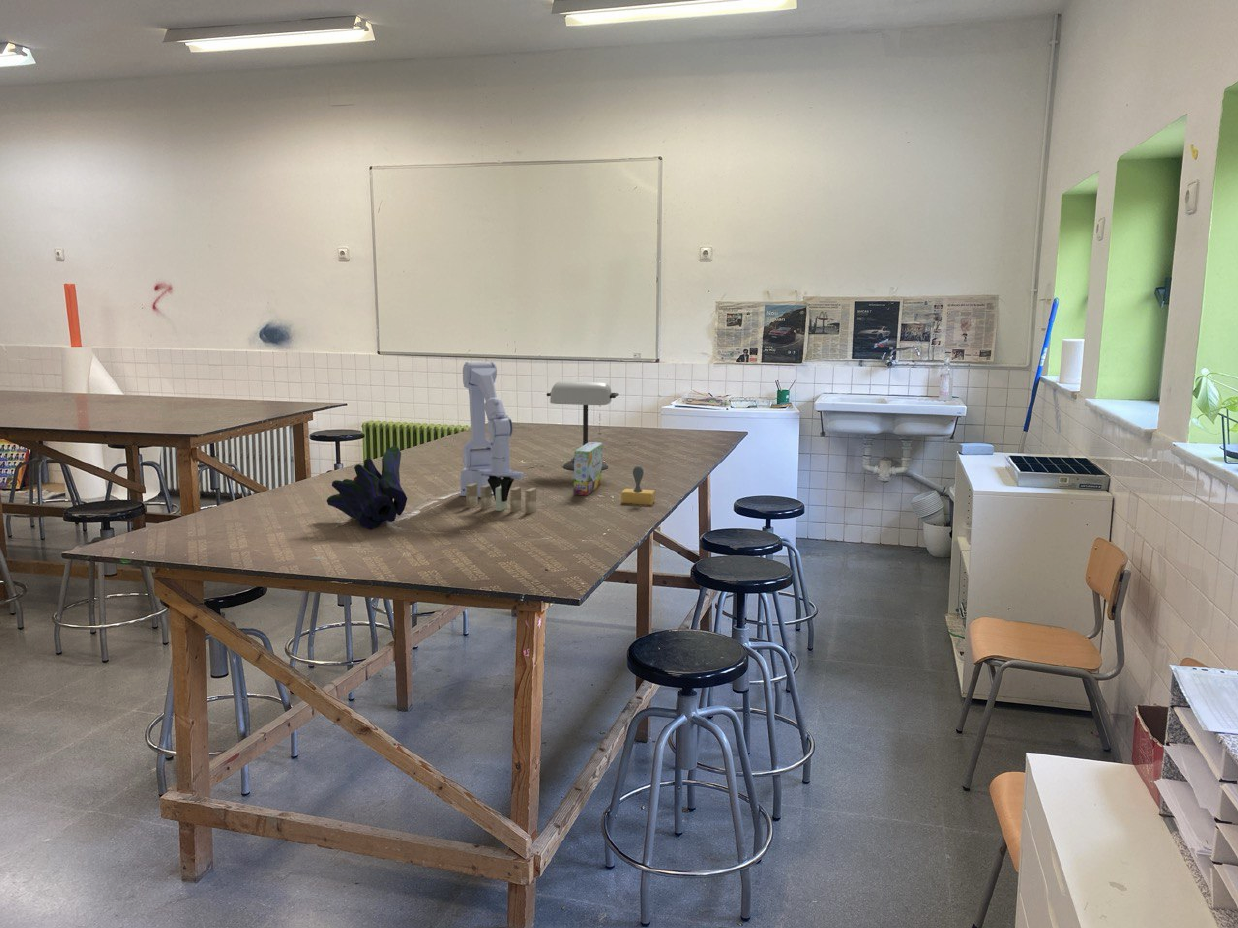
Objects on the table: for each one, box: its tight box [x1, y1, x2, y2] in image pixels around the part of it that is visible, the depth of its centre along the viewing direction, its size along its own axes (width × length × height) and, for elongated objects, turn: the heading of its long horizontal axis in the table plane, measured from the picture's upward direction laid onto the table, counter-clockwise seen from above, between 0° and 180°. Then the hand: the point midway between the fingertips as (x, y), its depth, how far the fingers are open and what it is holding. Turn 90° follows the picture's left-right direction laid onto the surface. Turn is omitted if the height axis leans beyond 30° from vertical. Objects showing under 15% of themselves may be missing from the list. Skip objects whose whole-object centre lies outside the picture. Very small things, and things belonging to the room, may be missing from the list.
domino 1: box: [465, 483, 479, 509], centre depth 279 cm, size 2×4×7 cm, turn 162°
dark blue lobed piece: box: [325, 445, 408, 530], centre depth 261 cm, size 21×26×30 cm
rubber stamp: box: [620, 465, 656, 506], centre depth 288 cm, size 10×6×12 cm, turn 78°
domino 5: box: [524, 487, 537, 515], centre depth 273 cm, size 2×4×7 cm, turn 162°
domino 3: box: [495, 485, 508, 512], centre depth 276 cm, size 2×4×7 cm, turn 162°
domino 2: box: [480, 484, 493, 511], centre depth 277 cm, size 2×4×7 cm, turn 162°
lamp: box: [546, 381, 620, 471], centre depth 343 cm, size 26×24×34 cm
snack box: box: [572, 441, 604, 496], centre depth 306 cm, size 21×6×15 cm, turn 169°
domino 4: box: [509, 486, 522, 513], centre depth 274 cm, size 2×4×7 cm, turn 162°
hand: (501, 500), depth 276 cm, fingers closed
